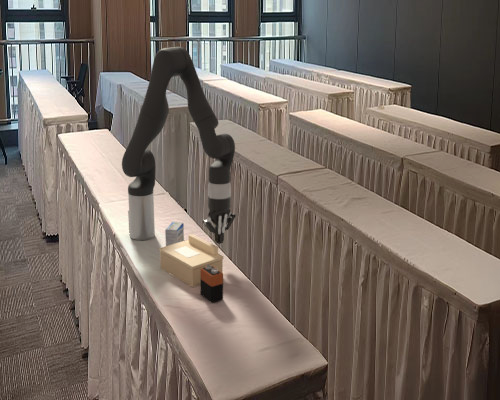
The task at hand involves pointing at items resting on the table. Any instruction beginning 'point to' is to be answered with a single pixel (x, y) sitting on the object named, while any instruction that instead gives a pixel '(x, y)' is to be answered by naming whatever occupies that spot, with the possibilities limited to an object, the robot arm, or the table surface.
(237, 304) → the table surface
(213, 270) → the battery
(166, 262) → the box
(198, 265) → the lid
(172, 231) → the medicine box
